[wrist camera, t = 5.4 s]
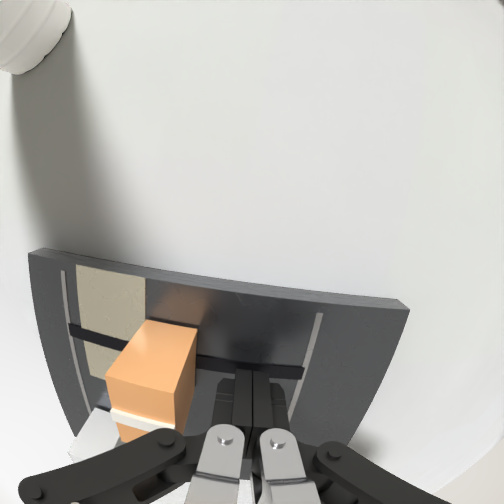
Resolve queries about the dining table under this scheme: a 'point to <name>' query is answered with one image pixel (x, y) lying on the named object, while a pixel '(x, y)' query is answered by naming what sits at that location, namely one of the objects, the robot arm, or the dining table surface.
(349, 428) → the console
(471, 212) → the dining table surface
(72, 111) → the dining table surface
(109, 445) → the white banded fader cap
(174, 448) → the robot arm
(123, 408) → the fader orange
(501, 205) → the dining table surface
